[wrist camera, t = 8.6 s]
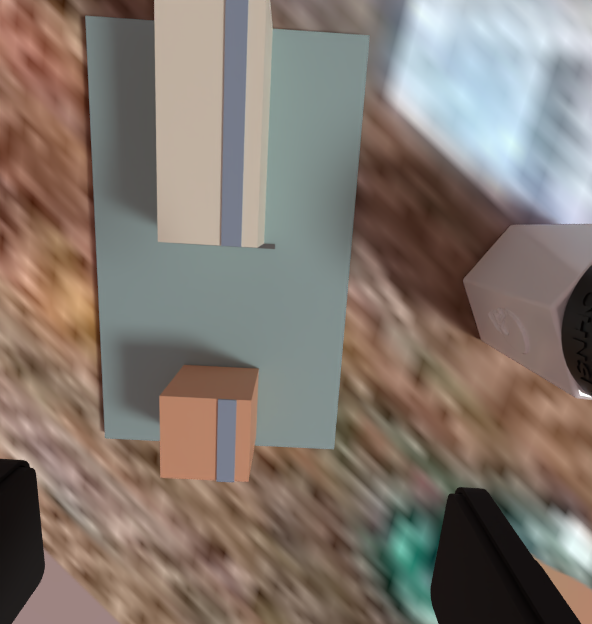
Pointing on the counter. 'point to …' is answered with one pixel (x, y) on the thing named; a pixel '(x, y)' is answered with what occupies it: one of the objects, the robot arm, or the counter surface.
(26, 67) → the counter surface
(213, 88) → the beige box
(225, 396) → the stub
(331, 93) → the mat
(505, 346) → the jar
